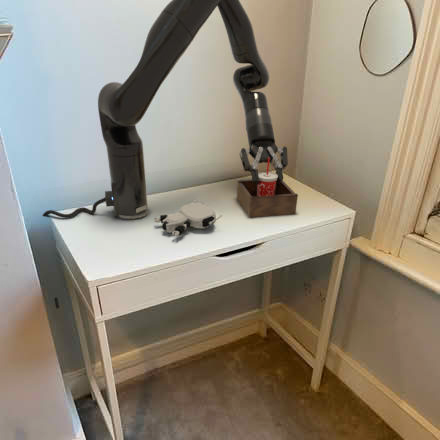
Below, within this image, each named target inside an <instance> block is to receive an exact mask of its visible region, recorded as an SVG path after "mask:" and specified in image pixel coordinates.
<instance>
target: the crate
mask: <svg viewBox="0 0 440 440" xmlns="http://www.w3.org/2000/svg"><path fill="white" fill-rule="evenodd" d="M236 185H237V186H236V187H237V188H236V199H237V202H238V203H239V204H240V206H241V207H242V209H243V210H244V212H245V213H246V215H247V216H248V217H249V218H260V217H261V218H263V217H271V216H272V217H273V216H285V215H296V213H297V204H298V197H299V194H298V193H296V192H295V191H294V190H293V189H292V188H291V187H290V186H289V185H288V184H287V183H286V181H284V179H283V180H282V182H281V183H280V184H278V183H277V180H276V186H275V192H274V195H268V196H257V185H255V183H253V181H252V179H238V180H237V184H236Z"/></svg>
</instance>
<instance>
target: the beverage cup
mask: <svg viewBox="0 0 440 440" xmlns="http://www.w3.org/2000/svg"><path fill="white" fill-rule="evenodd" d="M269 160H270V157H268V163H266V171H258V176H259V184H258V185H257V196H268V195H274V192H275V186H276V180H277V179H278V175H277V174H276V173H275V172H272V171H269V169H270V163H269Z"/></svg>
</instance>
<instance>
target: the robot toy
mask: <svg viewBox="0 0 440 440" xmlns="http://www.w3.org/2000/svg"><path fill="white" fill-rule="evenodd" d="M197 201H198V200H197V199H195V200H193V201H192V202H191V203H190V202H189V203H188V204H187V203H186V204H184V205H182V206H181V207H180V209H179V212H176V213H172V214H161V215H159V217H158V216H157V217H154V218H153V220H154V221H153V222H154V223H160V224H162V225H161V229H162V230H163V231H166V233H171V235H172V236H175V237H179V236H181V235H183V234H184V233H185V230H186V229H188V228H190V227H191V228H194V229H206V228H209V227H210V226H212V225H214V224H215V223H216V222H217V220H218V219H221V218H222V216H223V215H221V214H220V215H218V217H216V215H217V214H216V211H215V210H214V209H213V208H212V207H211V206H209V205H207V204H205V203H201V202H197Z"/></svg>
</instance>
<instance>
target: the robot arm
mask: <svg viewBox="0 0 440 440" xmlns="http://www.w3.org/2000/svg"><path fill="white" fill-rule="evenodd" d="M216 8H217V9H218V12H219V14H220V17H221V19H222V22H223V24H224V29H225V31H226V35H227V38H228V43H229V46H230V47H229V48H230V50H231V55H232V57H233V60H234V62H236V63H237V64H243V66H241V67H238V68H236V69H235V70H234V72H233V75H232V83H233V85H234V87H235V90H236V91H237V93H238V95H239V98H240V100H241V102H242V107H243V111H244V118H245V119H244V120H245V131H246V136H247V142H248V148H245V147H242V148H241V149H240V152H239V158H240V161H241V164H242V168H243V171H244V172H249V173H250V174H251V180H252V181H253V183H255V185H258V184H259V176H258V173H259V170H258V169H257V168H258V164H263V163H265V164H267V163H268V157H270V160H269V165H270V166H271V167H272V168H273V169H274V170H275V172H274V173H275V174H277V175H278V179H277V183H278V184H280V183H281V182H282V180H283V181H284V173H283V171H284V170H285V169H286V168H287V167H288V164H289V162H288V161H289V159H288V148H287V146H283V147H278V145H277V144H276V139H275V138H276V137H275V133H274V127H273V122H272V118H271V113H270V110H269V104H268V98H267V96H266V94H265V93H264V92H262V91H257V90H261V89H265V88H266V87H267V86H268V84H269V82H270V72H269V70H268V67H267V66H266V64H265V62H264V61H263V59H262V57H261V54H260V52H259V50H258V46H257V41H256V37H255V32H254V28H253V24H252V22H251V19H250V18H249V16H248V14H247V12H246V9H245V8H244V7H243V5H242V3H241V1H240V0H171V1H169V2H168V3H167V4H166V6H165V7H164V8H163V9H162V10H161V12H160V13H159V15H158V16H157V17H156V19H155V21H154V22H153V23H152V24H151V27H150V28H149V31H148V33H147V36H146V38H145V41H144V44H143V45H144V46H143V49H142V53H141V56H140V58H139V61H138V62H137V65H136V66H135V68H134V69H133V70H132V72H131V73H130V74H129V76H128V78H127V79H125V81H124V82H123V83H121V82H117V81H116V82H115V81H111V82H108V83H106V84H105V85H103V87H102V88H101V89H100V91H99V93H98V97H97V109H98V117H99V125H100V129H101V134H102V138H103V141H104V144H105V146H106V153H107V163H108V169H109V178H110V187H111V190H105V191H104V196H105V197H103V198H101V199H98V200H97V201H96V202H94V203H93V205H92V208H91V209H89V208H87V207H78V208H77V209H75V210H74V211H73V212H70V213H61V212H59V211H56V210H52V209H49V210H46V211H44V212H43V214H42V217H47V216H49V215H54V216H57V217H60V218H63V219H67V218H68V219H69V218H73V217H75V216H76V215H78V213H81V212H86V213H87V214H90V215H93V214H95V213H96V211H97V207H98V206H99V205H100V204H102V203H104V202H105V206H106V207H113V213H114V218H115V219H122V220H138V219H141V218H144V217H146V216H147V215H148V214H149V207H148V206H149V205H148V196H147V182H146V180H147V179H146V169H145V156H144V155H145V153H144V145H143V143H144V142H143V140H142V138H141V137H140V135H139V133H138V130H137V127H136V126H137V125H138V123H139V122H141V120H142V119H143V118H144V116H145V115H146V113H147V111H148V110H149V107H150V105H151V104H152V102H153V100H154V98H155V97H156V95H157V93H158V91H159V89H160V87H161V86H162V84H163V83H164V81H165V80H166V79H167V77H168V76H169V74H170V73H171V72H172V70H174V67H175V66H176V64H177V63H178V62H179V60H180V58H182V56H183V55H184V54H185V53H186V51H187V50H188V48H189V47H190V45H191V44H192V42H193V41H194V40H195V38H196V36H197V35H198V33H199V32H200V30H201V29H202V27H203V26H204V25H205V23H206V22H207V21H208V19H209V18H210V16H211V15H212V13H213V12H214V11H215V9H216ZM244 64H246V65H244ZM277 153H278V156H277ZM249 155H250V156H251V157H252V159H253V161H252V164H250V160H249V157H248V156H249ZM279 157H280V160H279ZM53 301H54V304H55V305H54V306H55V308H56V309H60V304H59V298H58V297H53Z"/></svg>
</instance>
